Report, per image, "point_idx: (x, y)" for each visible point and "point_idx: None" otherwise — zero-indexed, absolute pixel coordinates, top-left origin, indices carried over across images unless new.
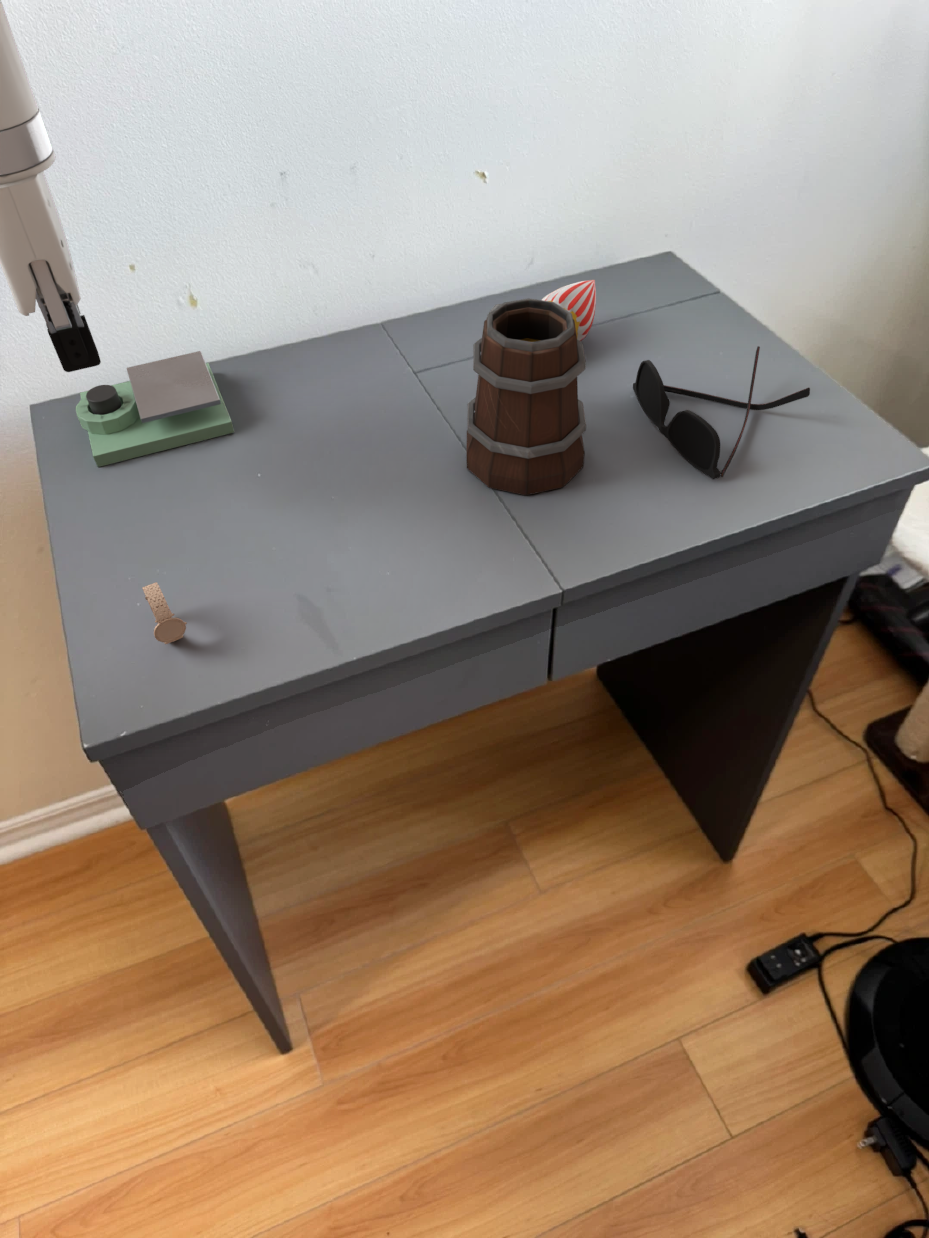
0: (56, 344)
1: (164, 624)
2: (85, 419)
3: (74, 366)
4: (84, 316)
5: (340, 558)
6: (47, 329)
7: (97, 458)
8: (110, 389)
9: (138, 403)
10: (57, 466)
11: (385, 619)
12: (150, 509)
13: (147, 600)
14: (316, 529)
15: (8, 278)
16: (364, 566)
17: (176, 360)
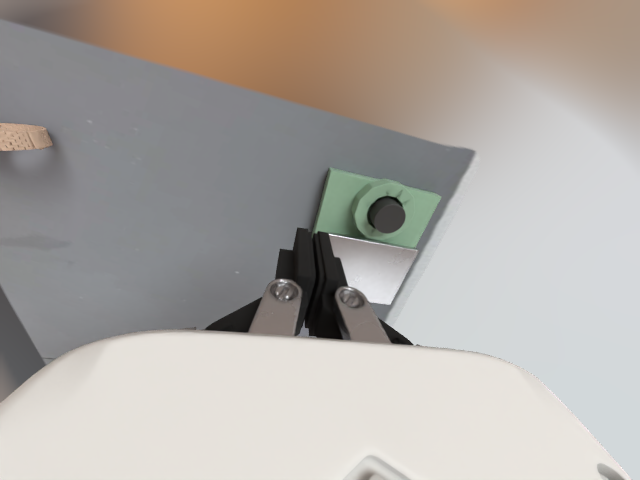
0: (296, 260)
1: None
2: (375, 188)
3: (294, 245)
4: (314, 335)
5: (108, 280)
6: (310, 276)
7: (329, 173)
8: (387, 229)
9: (354, 240)
10: (359, 131)
11: (25, 279)
12: (236, 186)
13: (35, 130)
14: (150, 280)
15: None
16: (93, 289)
17: (392, 286)
